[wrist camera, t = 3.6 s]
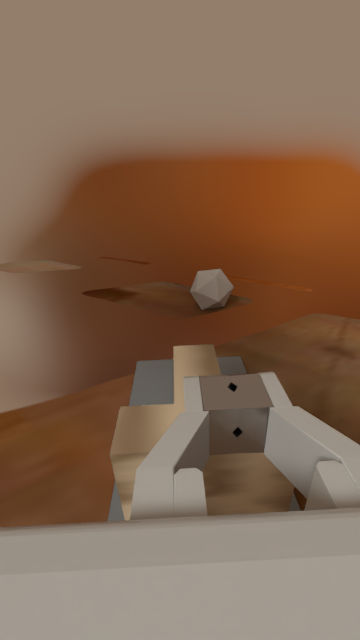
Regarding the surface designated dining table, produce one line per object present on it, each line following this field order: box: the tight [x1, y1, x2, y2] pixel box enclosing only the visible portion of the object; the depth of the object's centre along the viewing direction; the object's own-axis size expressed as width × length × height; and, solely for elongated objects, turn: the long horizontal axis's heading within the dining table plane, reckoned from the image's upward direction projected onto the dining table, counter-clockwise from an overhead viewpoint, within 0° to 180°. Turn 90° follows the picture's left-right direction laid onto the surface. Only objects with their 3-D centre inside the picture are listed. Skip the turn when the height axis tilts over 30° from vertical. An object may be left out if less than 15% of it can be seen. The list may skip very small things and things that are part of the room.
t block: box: [110, 344, 294, 520], centre depth 25 cm, size 12×12×10 cm
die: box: [190, 269, 233, 310], centre depth 59 cm, size 8×9×10 cm
